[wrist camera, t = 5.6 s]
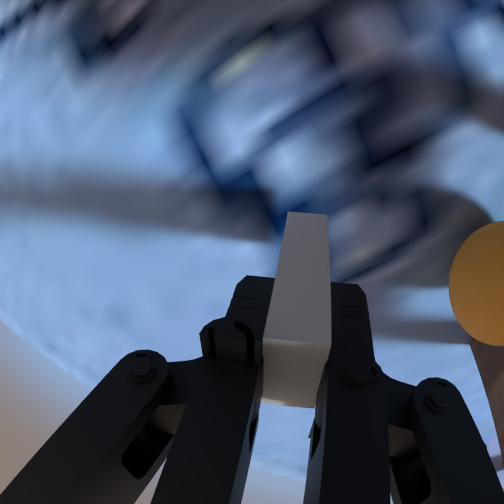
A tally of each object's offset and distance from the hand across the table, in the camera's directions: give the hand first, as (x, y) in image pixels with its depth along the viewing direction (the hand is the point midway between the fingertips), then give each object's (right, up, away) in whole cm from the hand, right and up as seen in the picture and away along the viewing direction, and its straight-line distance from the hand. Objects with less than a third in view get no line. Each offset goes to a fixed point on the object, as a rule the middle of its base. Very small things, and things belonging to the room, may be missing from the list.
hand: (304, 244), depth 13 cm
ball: (+9, -2, -2) cm, 9 cm away
